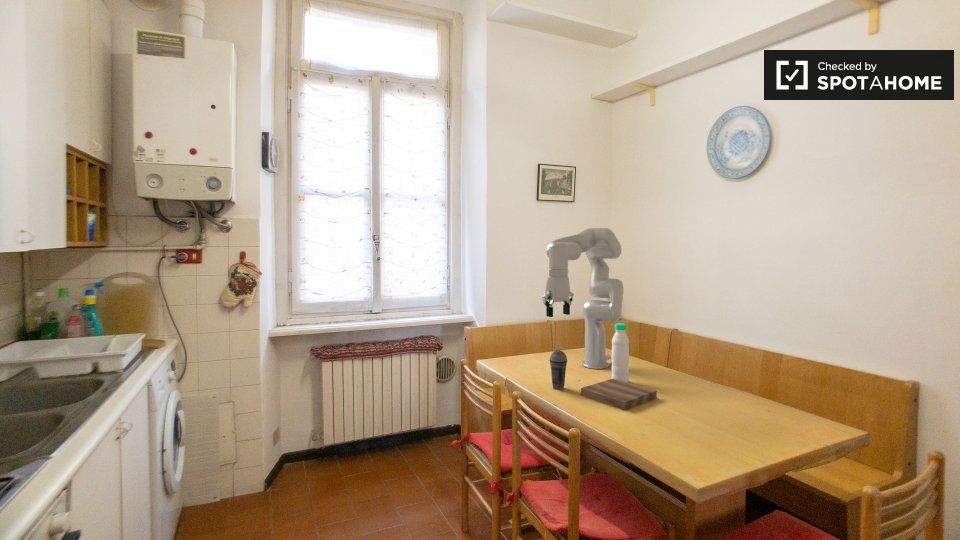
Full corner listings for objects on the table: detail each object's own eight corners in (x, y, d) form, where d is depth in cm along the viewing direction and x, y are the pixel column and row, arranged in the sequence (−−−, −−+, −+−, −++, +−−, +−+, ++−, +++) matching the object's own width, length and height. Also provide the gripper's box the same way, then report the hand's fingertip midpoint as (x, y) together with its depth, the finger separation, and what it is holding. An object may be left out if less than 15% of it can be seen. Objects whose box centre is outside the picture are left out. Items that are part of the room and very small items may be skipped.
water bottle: (610, 383, 195) (611, 324, 193) (612, 378, 201) (612, 322, 199) (628, 385, 192) (628, 326, 190) (629, 380, 199) (630, 323, 197)
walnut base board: (613, 385, 192) (613, 378, 192) (656, 398, 176) (656, 390, 176) (581, 395, 180) (581, 388, 180) (624, 410, 164) (624, 402, 164)
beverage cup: (566, 385, 193) (566, 338, 192) (568, 391, 186) (568, 341, 184) (549, 384, 194) (549, 337, 192) (549, 390, 187) (549, 341, 185)
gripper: (566, 272, 195) (565, 312, 196) (536, 273, 184) (536, 316, 185) (579, 273, 189) (579, 314, 190) (549, 275, 178) (549, 318, 179)
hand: (558, 315), depth 188 cm, fingers open, 9 cm apart
